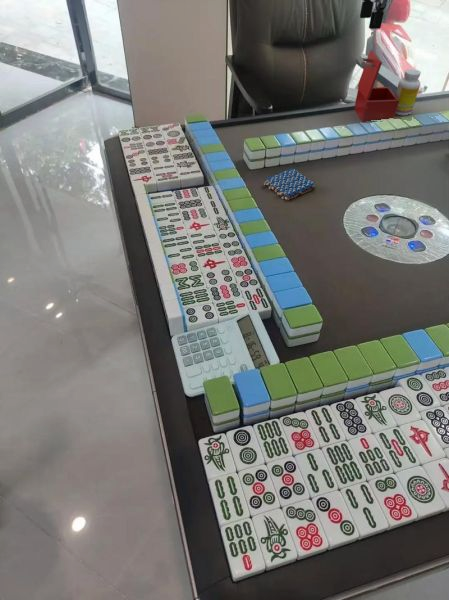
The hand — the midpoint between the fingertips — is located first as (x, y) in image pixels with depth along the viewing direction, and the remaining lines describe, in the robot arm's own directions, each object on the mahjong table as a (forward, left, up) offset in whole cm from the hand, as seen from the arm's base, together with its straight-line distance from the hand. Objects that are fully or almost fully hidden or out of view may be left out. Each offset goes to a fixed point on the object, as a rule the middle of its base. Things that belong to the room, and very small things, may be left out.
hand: (369, 22), depth 124 cm
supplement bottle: (-18, -2, -28) cm, 33 cm away
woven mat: (+27, +40, -28) cm, 55 cm away
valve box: (-8, -1, -27) cm, 29 cm away
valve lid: (-4, -1, -15) cm, 15 cm away
